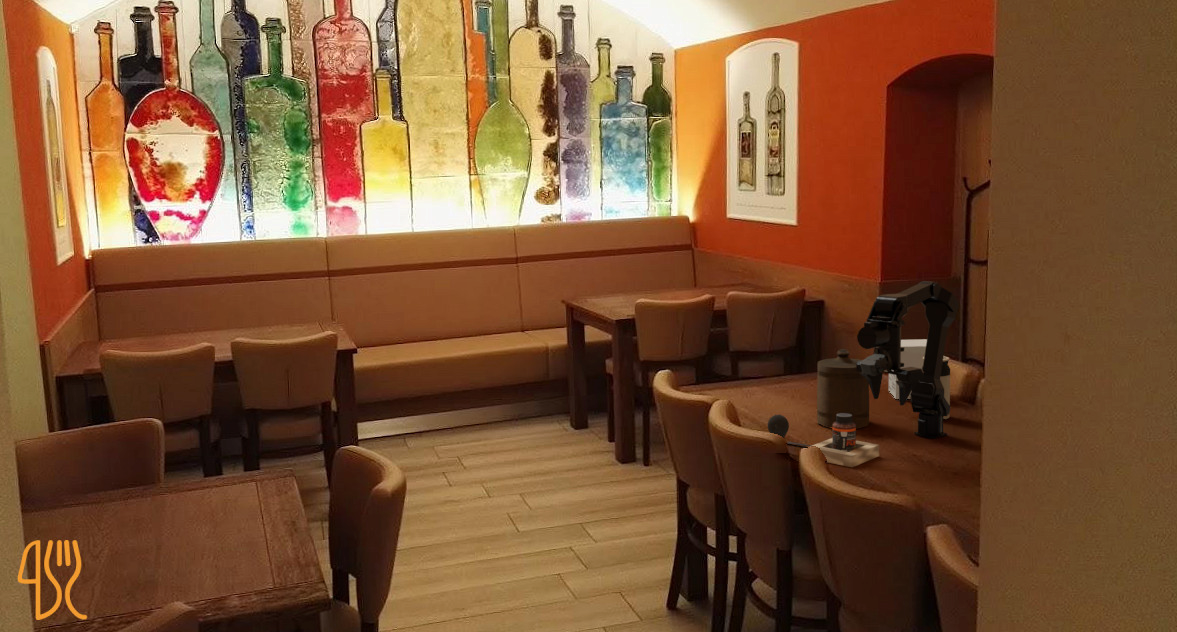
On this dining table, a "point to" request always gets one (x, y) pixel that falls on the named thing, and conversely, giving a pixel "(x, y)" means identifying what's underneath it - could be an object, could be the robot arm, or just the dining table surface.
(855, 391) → the wooden container
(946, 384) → the travel mug
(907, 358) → the supplement box
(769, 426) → the light bulb
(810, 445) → the dark grey rod
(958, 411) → the dining table surface
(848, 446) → the supplement bottle
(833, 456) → the cream square shallow tray
